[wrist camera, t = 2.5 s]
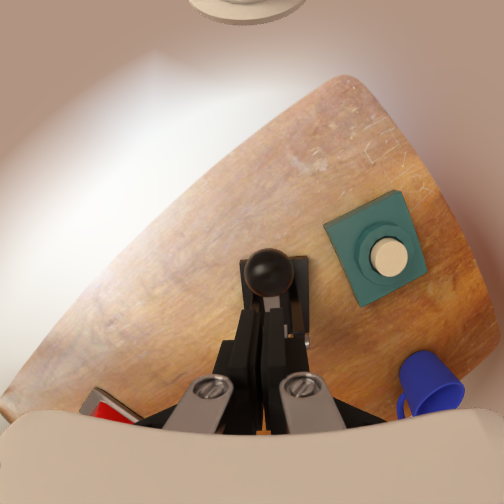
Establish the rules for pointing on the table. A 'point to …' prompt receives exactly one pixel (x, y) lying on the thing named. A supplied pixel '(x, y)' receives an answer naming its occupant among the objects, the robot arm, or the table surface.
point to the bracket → (286, 299)
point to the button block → (366, 236)
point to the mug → (428, 385)
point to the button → (389, 257)
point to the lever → (269, 276)
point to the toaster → (107, 408)
